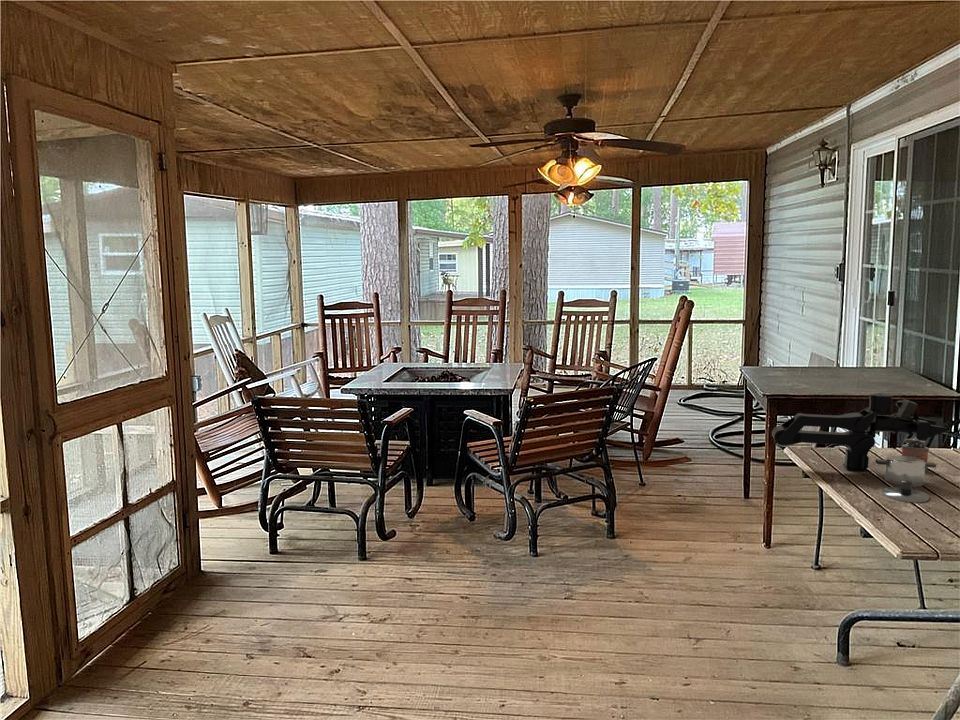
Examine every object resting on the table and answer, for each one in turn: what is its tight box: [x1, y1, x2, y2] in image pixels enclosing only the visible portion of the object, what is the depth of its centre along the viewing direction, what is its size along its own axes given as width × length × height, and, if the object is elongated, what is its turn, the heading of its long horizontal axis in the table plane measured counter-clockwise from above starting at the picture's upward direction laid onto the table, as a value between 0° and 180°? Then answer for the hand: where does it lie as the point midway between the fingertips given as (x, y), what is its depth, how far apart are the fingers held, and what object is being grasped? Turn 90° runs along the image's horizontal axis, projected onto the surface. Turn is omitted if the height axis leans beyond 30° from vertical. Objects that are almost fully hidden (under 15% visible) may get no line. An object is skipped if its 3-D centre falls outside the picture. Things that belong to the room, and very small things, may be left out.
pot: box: [875, 455, 937, 487], centre depth 229 cm, size 17×11×7 cm, turn 75°
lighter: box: [901, 438, 930, 471], centre depth 243 cm, size 8×3×10 cm, turn 56°
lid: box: [881, 480, 930, 504], centre depth 216 cm, size 12×12×5 cm
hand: (941, 426), depth 234 cm, fingers open, 9 cm apart
